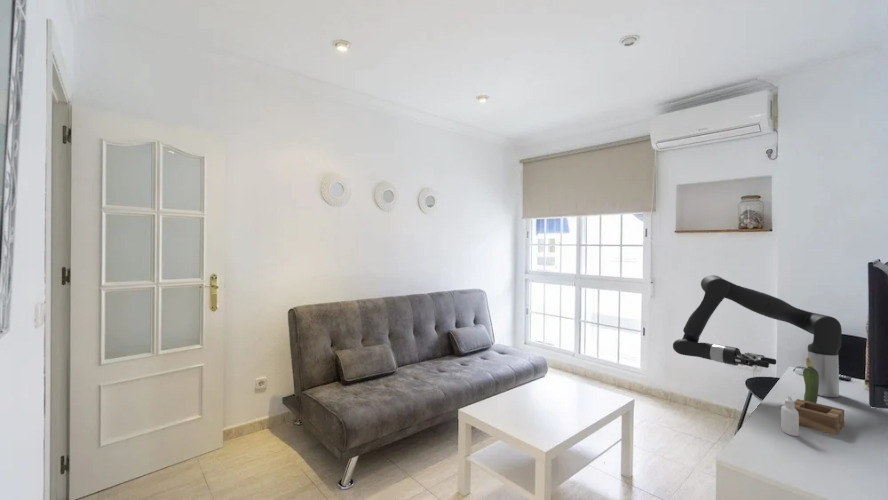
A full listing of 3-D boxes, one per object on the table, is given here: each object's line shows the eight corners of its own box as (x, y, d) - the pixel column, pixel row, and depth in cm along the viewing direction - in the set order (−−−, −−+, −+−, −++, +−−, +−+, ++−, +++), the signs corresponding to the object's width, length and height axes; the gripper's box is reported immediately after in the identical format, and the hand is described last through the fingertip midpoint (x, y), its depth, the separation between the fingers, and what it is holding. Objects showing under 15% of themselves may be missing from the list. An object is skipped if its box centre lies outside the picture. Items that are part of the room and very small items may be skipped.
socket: (797, 413, 141) (797, 398, 141) (844, 425, 131) (844, 409, 131) (787, 421, 134) (787, 406, 134) (835, 435, 124) (835, 418, 124)
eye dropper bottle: (799, 431, 127) (798, 395, 127) (799, 437, 123) (798, 400, 123) (781, 427, 130) (780, 392, 130) (780, 433, 126) (780, 396, 126)
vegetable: (812, 408, 146) (812, 356, 146) (822, 413, 142) (822, 359, 142) (800, 408, 146) (799, 355, 147) (809, 412, 142) (809, 358, 142)
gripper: (718, 347, 163) (766, 356, 149) (731, 343, 171) (778, 351, 157) (718, 365, 163) (766, 376, 149) (731, 360, 171) (778, 370, 157)
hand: (772, 363), depth 153 cm, fingers open, 8 cm apart
